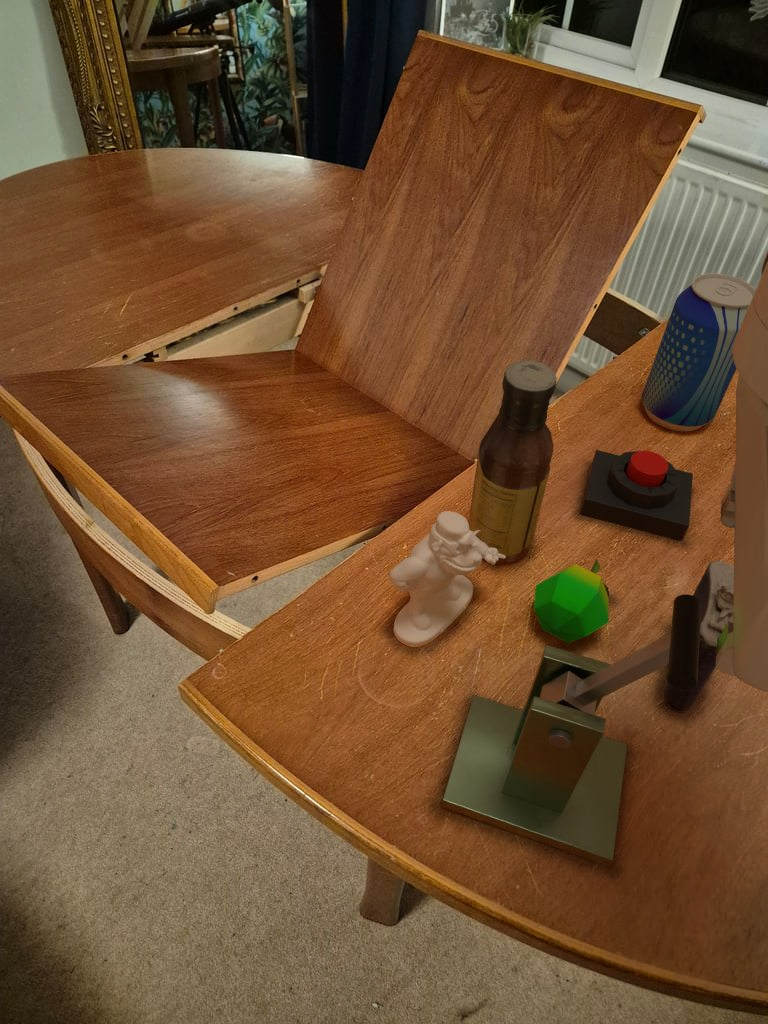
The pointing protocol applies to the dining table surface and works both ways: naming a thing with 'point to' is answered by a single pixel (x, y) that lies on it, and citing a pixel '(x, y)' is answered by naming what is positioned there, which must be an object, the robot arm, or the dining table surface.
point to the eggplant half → (707, 629)
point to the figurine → (438, 578)
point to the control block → (637, 497)
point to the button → (647, 468)
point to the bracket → (542, 767)
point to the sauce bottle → (514, 462)
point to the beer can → (697, 353)
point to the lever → (639, 663)
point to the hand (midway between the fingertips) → (734, 585)
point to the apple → (572, 603)
